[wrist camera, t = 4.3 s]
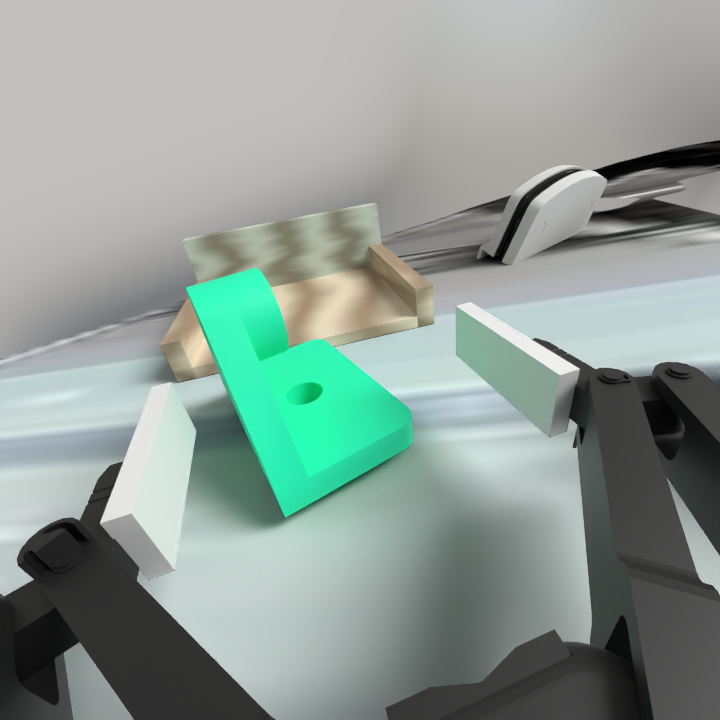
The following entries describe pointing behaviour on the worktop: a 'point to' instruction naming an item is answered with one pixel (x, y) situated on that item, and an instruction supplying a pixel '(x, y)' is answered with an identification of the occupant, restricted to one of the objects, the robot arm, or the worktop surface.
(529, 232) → the grey rounded piece
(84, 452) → the worktop surface
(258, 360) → the camera mount
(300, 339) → the dock
